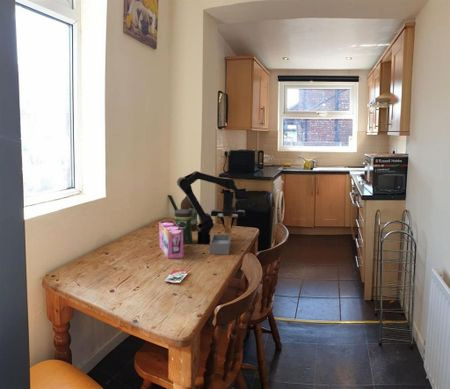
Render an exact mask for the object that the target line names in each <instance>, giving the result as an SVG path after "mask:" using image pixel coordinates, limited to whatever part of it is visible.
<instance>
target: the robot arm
mask: <svg viewBox="0 0 450 389" xmlns="http://www.w3.org/2000/svg"><path fill="white" fill-rule="evenodd" d="M198 180H200V181H204V182H208V183H211V184H215V185H218V186H221V187H223V188H221V189H220V190H219V191H218V192H219V193H220V194H222V210H221V211H220V210H219V209H213V208H212V209H211V211H210V214H209V213H208V212H207V213H205V211H204V209H203V207H202V205H201V203H200V202H199V200H198V198H197V197H196V195H195V194H194V191H193V188H192V184H195V182H196V181H198ZM235 184H236V183H235V180H234V179H232V178H229V177H224V176H223V177H222V176H221V177H219V176H215V175H211V174H207V173H204V172H200V171H199V170H195V171H193V172H191V173H189V174H187V175H185V176H183V177H182V176H181V177H179V178H178V179H177V181H176V185H177V186H178V188H179V189H180V190H181V191H182V192H183V193H184V194H185V197H186V196H187V197H188V199H189V201H190V202H191V204H192V206H193V207H194V209H195V211H196V213H197V218H198V220H199V223H198V224H197V242H196V243H197V244H205V245H208V244H209V245H210V241H211V230H212V229H213V227H214V225H215V224H214V220H213V218H212V217H218V218H219V219H220V220H221V224H222V226H223V228H224V229H225V216H229V217H231V229H232V228H233V225H234V222H235V220H236V219H238V217H239V218H240V217H241V218H243V217H244V218H245V216H246V211H245V209H238V210H237V211H236V207H234V200H235V201H246V200H247V198H248V193H247V188H245V187H241V188H238V187H237V186H236V185H235Z"/></svg>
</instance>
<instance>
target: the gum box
mask: <svg viewBox="0 0 450 389" xmlns="http://www.w3.org/2000/svg"><path fill="white" fill-rule="evenodd" d="M158 224H159V225H158V227H159V228H158V229H159V230H158V231H159V234H158V236H159V247H160V249H161V250H162V252H163V254H164V255H165V256H166V258H167V259H179V258H180V259H182V258H184V244H183V230H182V229H181V228H180V227H179V226H178V225H177V224H176V222H175V220H169V221H159V222H158Z"/></svg>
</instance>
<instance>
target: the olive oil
mask: <svg viewBox="0 0 450 389" xmlns="http://www.w3.org/2000/svg"><path fill="white" fill-rule="evenodd" d="M180 209H187V210H191V212H192V219H191V231H192V232H195V231H198V229H197V226H198V214H197V213H196V211H195V209H194V207H193V206H192V204H191V202H190V201H189V199H188V197H187V196H186V195H185V197H184V198H183V199H182V200H181V201H180Z"/></svg>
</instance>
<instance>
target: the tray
mask: <svg viewBox="0 0 450 389" xmlns="http://www.w3.org/2000/svg"><path fill="white" fill-rule="evenodd" d="M230 248H231V234H212V235H211V238H210V242H209V255H229V254H230Z"/></svg>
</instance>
